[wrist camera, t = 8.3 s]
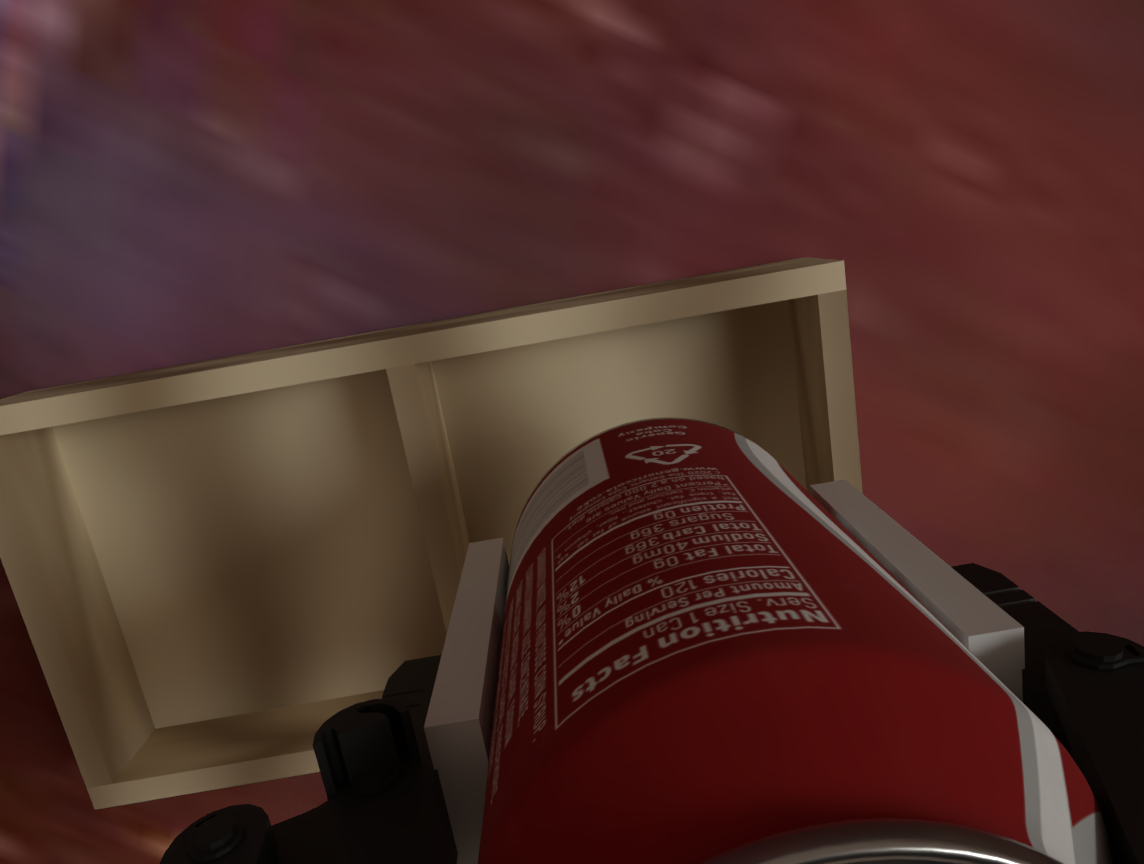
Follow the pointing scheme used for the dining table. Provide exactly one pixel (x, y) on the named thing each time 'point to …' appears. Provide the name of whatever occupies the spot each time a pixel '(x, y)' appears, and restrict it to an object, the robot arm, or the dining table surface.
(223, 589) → the caddy
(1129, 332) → the dining table surface
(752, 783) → the soda can
